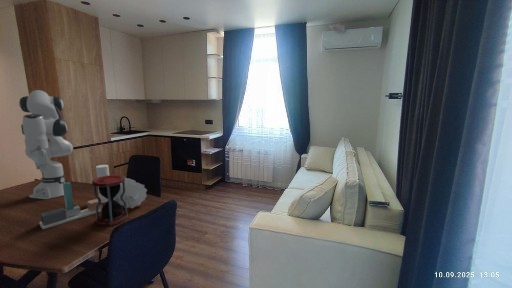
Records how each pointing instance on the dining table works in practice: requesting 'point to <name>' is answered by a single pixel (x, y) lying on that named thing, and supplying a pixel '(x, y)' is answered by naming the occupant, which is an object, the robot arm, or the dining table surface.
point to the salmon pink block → (93, 205)
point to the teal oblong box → (69, 200)
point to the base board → (70, 218)
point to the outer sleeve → (53, 216)
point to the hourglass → (110, 200)
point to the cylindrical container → (101, 171)
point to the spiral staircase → (131, 193)
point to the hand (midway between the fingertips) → (40, 170)
